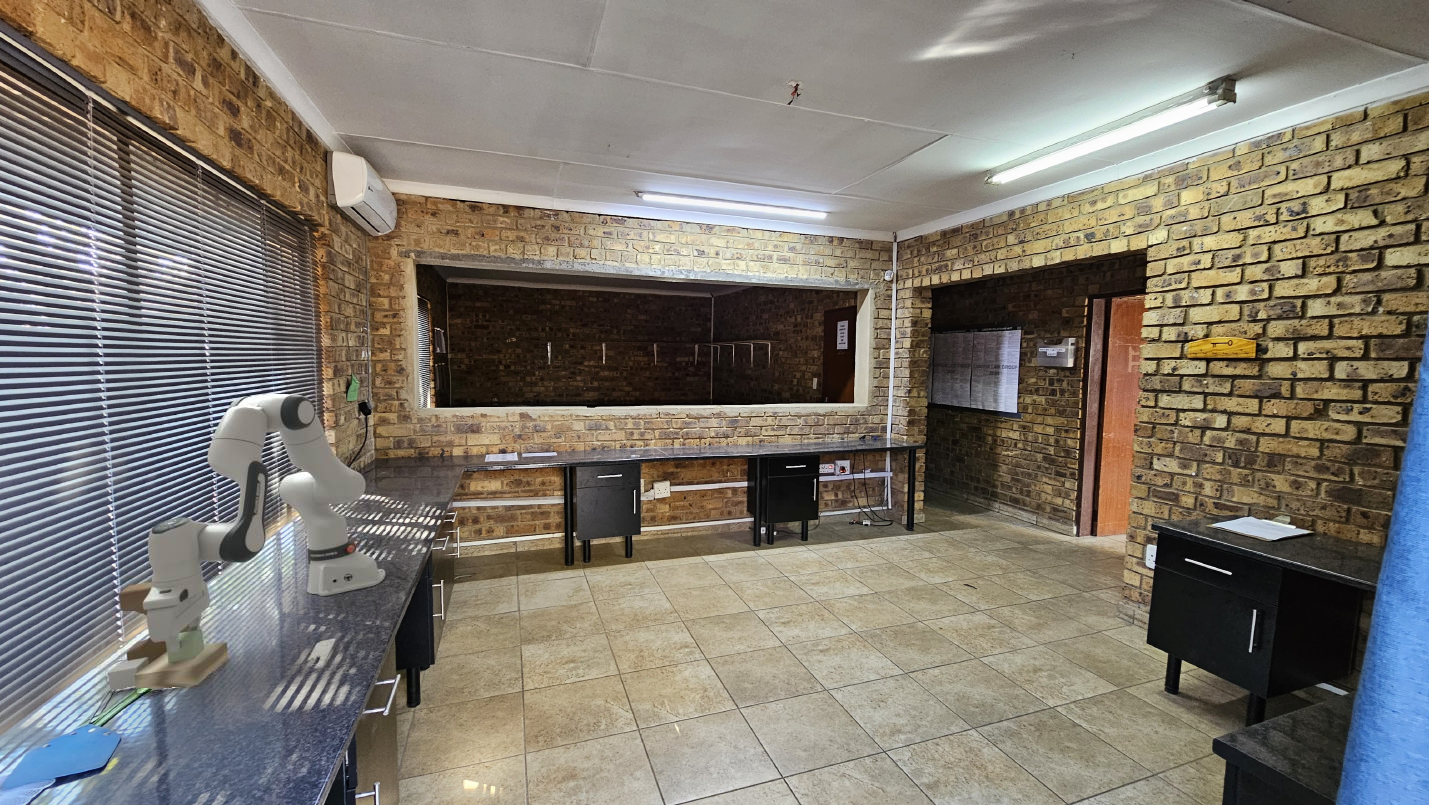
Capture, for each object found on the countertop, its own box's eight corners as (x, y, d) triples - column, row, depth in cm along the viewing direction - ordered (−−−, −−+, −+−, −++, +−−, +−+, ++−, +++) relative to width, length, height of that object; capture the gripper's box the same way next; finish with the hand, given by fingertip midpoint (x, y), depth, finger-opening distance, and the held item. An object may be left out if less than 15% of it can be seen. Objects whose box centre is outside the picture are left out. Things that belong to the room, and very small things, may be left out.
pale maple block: (228, 660, 146) (226, 641, 146) (198, 687, 134) (195, 666, 134) (173, 667, 143) (170, 648, 143) (137, 695, 132) (134, 675, 131)
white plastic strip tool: (298, 674, 139) (297, 670, 138) (314, 646, 152) (313, 642, 152) (322, 668, 140) (322, 664, 140) (336, 641, 154) (336, 637, 154)
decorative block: (127, 670, 142) (117, 593, 140) (138, 660, 147) (128, 584, 145) (185, 659, 147) (176, 583, 145) (193, 649, 152) (185, 576, 150)
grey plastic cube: (150, 676, 139) (147, 657, 138) (138, 687, 134) (136, 667, 134) (123, 681, 137) (120, 662, 137) (110, 693, 132) (108, 672, 132)
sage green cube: (204, 648, 142) (202, 629, 142) (194, 658, 138) (192, 638, 137) (178, 653, 141) (176, 633, 140) (168, 663, 136) (165, 643, 136)
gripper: (184, 574, 146) (190, 625, 147) (137, 606, 127) (145, 665, 128) (214, 569, 148) (220, 620, 150) (173, 601, 129) (180, 659, 131)
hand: (185, 641), depth 139 cm, fingers open, 8 cm apart
